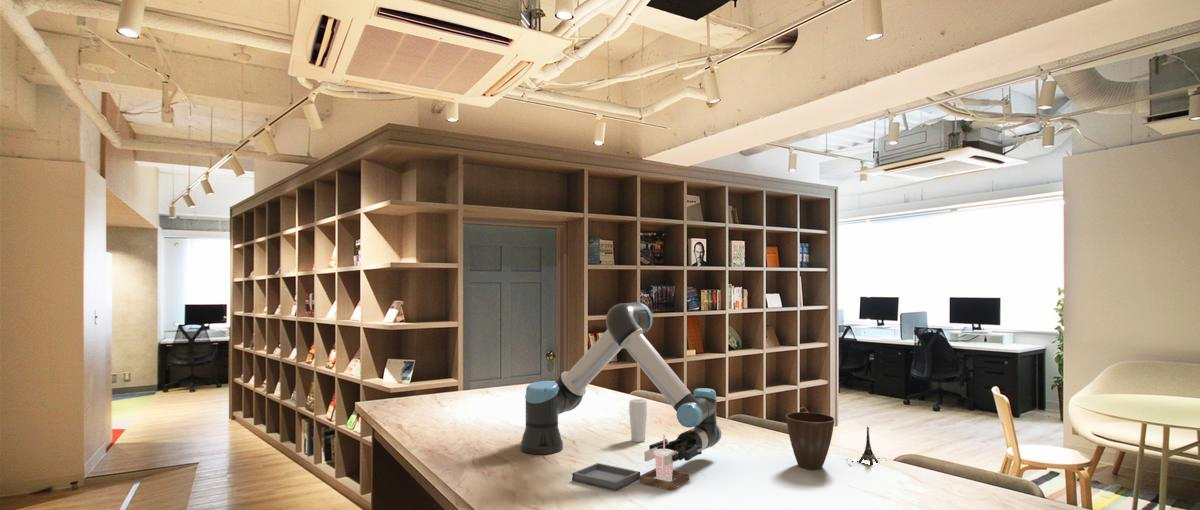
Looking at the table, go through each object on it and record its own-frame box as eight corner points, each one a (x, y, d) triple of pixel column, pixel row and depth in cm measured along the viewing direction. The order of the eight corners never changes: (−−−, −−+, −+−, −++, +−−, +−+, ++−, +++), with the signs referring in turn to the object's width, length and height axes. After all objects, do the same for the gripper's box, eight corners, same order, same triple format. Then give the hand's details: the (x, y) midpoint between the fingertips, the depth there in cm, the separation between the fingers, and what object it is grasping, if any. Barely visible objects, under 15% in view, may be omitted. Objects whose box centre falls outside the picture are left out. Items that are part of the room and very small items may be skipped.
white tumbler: (646, 443, 230) (645, 402, 231) (628, 442, 232) (627, 402, 232) (648, 438, 237) (648, 399, 238) (630, 438, 238) (630, 398, 239)
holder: (639, 483, 185) (639, 476, 185) (657, 473, 194) (657, 467, 194) (671, 490, 179) (671, 483, 179) (689, 480, 188) (689, 473, 188)
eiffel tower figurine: (885, 460, 211) (884, 420, 211) (898, 469, 201) (897, 427, 201) (840, 459, 211) (839, 419, 212) (851, 468, 201) (850, 426, 202)
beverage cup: (676, 479, 188) (676, 433, 189) (672, 485, 182) (671, 437, 183) (656, 477, 190) (656, 431, 191) (651, 483, 184) (651, 436, 185)
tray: (572, 480, 187) (572, 473, 187) (597, 470, 198) (597, 462, 198) (616, 491, 178) (616, 483, 178) (640, 479, 188) (640, 471, 189)
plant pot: (836, 463, 205) (836, 414, 206) (833, 476, 192) (832, 423, 192) (790, 457, 211) (789, 410, 212) (783, 470, 198) (782, 419, 199)
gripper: (719, 458, 196) (684, 477, 177) (666, 449, 207) (628, 465, 188) (718, 434, 196) (684, 450, 177) (666, 426, 207) (628, 440, 188)
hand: (655, 458), depth 183 cm, fingers closed on beverage cup, 6 cm apart
